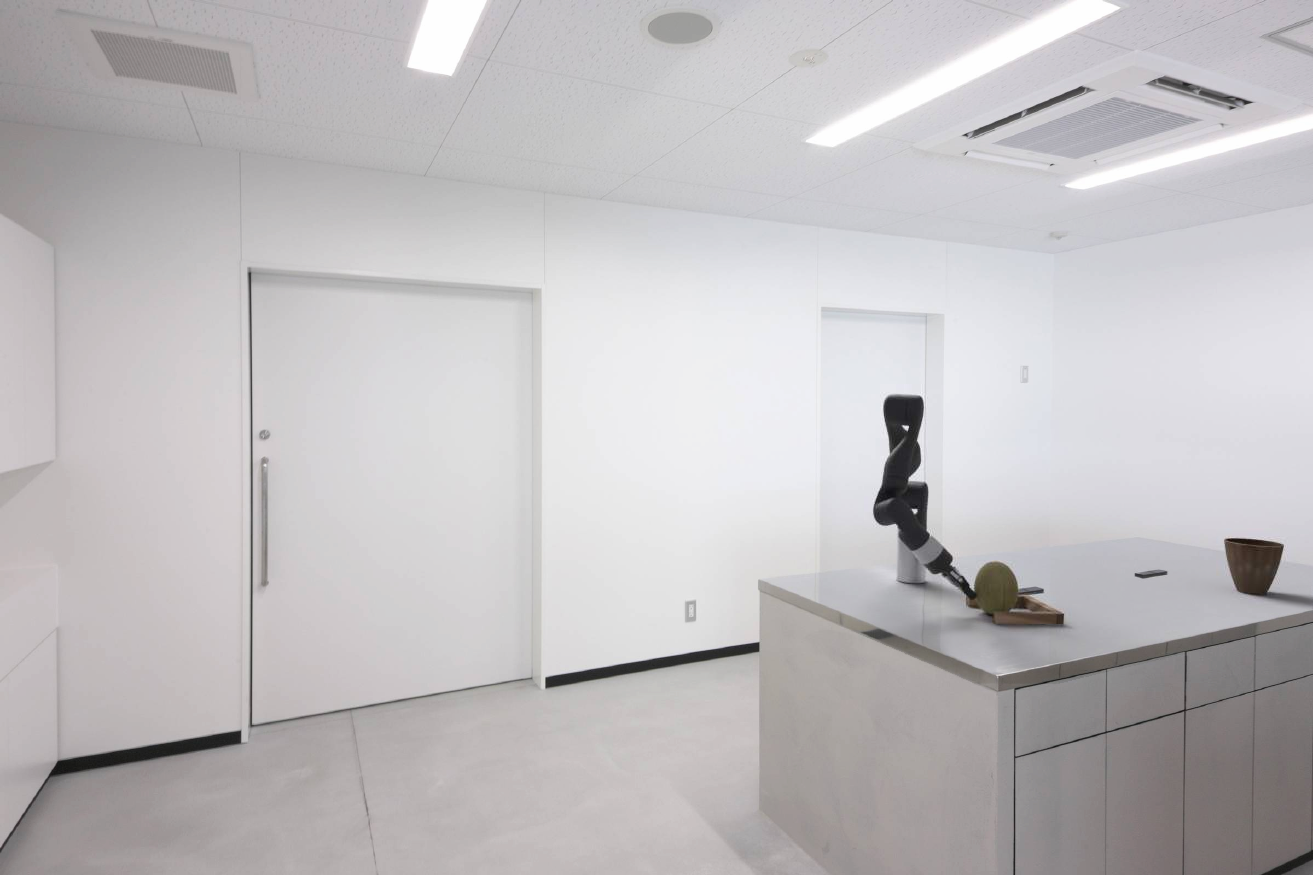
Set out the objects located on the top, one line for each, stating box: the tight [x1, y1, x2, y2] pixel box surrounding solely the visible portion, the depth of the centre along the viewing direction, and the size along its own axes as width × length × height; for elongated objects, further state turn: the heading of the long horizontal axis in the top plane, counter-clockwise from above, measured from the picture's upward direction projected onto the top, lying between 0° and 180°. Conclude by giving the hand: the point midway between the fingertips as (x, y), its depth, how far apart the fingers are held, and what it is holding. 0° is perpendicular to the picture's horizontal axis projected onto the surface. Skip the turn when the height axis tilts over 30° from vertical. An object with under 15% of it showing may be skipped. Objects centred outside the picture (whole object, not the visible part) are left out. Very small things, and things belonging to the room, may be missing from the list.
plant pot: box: [1223, 537, 1285, 596], centre depth 240 cm, size 15×15×16 cm
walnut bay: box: [965, 594, 1065, 626], centre depth 214 cm, size 20×18×3 cm
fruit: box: [973, 560, 1019, 616], centre depth 214 cm, size 11×11×15 cm
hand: (973, 597), depth 213 cm, fingers closed
